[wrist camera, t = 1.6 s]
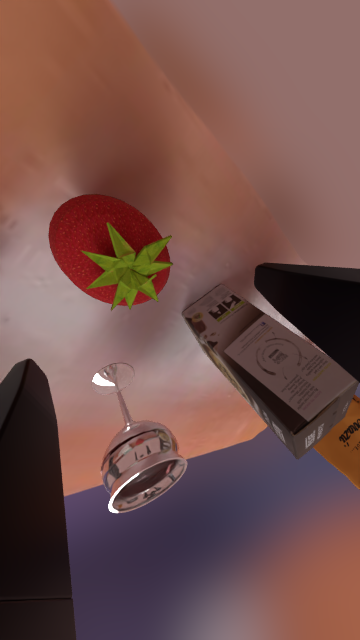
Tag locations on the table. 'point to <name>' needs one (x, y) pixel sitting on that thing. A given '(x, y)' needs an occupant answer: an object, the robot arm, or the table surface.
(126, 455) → the wineglass
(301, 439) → the coffee box
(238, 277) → the table surface
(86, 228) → the strawberry
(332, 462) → the coffee package
